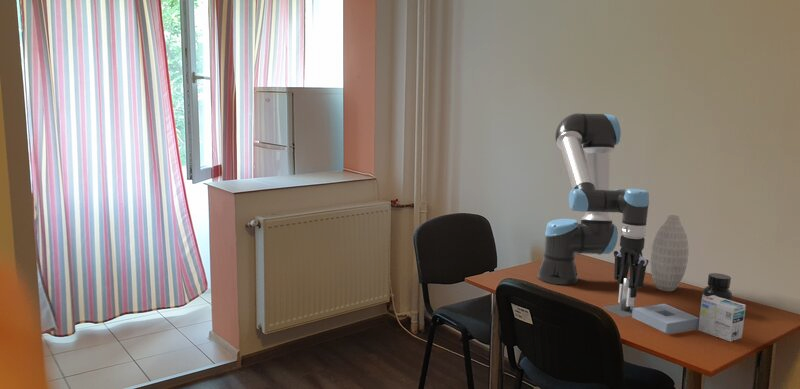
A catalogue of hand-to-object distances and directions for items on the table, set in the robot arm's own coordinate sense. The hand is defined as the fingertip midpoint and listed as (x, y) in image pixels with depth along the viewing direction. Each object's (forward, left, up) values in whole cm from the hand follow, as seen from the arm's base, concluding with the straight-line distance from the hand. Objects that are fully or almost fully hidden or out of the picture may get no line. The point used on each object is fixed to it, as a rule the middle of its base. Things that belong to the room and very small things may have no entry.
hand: (625, 304), depth 208 cm
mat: (0, 0, -3) cm, 3 cm away
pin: (0, 0, -2) cm, 2 cm away
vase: (-14, +33, -3) cm, 36 cm away
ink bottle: (+9, +32, -3) cm, 33 cm away
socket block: (+13, +4, -3) cm, 14 cm away
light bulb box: (+26, +14, -3) cm, 29 cm away
